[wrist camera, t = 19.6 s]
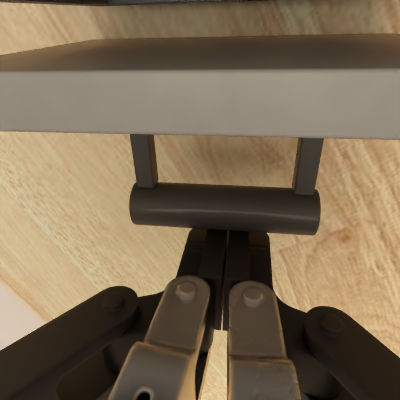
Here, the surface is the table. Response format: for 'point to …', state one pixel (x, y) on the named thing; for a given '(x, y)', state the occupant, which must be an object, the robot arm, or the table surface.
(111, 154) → the table surface
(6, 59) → the drawer
